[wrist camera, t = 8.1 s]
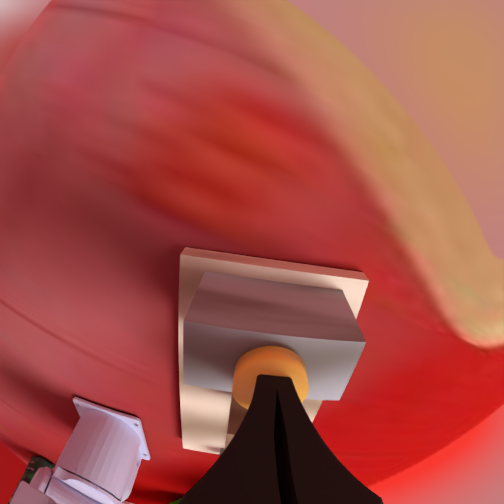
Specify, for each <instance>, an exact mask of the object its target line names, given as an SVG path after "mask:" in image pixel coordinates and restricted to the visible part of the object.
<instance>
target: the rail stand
mask: <svg viewBox="0 0 504 504" xmlns="http://www.w3.org/2000/svg"><path fill="white" fill-rule="evenodd" d="M368 282H369V280H368V279H367V277H366V276H365V274H364V273H363V272H358V271H351V270H344V269H336V268H329V267H322V266H315V265H308V264H301V263H294V262H287V261H279V260H272V259H265V258H258V257H251V256H244V255H237V254H230V253H223V252H216V251H209V250H203V249H196V248H189V247H185V248H184V250H183V251H182V253H181V254H180V271H179V314H178V344H179V387H180V409H181V426H182V440H183V448H186V449H191V450H196V451H202V452H208V453H214V454H220V456H221V454H222V453H223V452H224V450H225V443H226V436H227V426H228V419H229V411H230V404H231V397H232V385H233V377H234V370H235V365H236V363H237V361H238V360H239V359H240V357H241V356H243V355H244V354H245V353H247V352H248V351H250V350H253V349H256V348H259V347H265V346H277V347H283V348H287V349H289V350H291V351H293V352H295V353H296V354H298V355H299V356H300V357H301V358H302V359H303V361H304V363H305V366H306V372H307V379H308V386H309V391H308V395H307V397H306V399H305V400H304V401H303V402H302V405H303V407H304V409H305V411H306V413H307V414H308V416H309V418H310V420H311V422H313V420H314V417H315V415H316V413H317V411H318V409H319V407H320V405H321V403H322V401H323V400H339V399H340V397H341V395H342V393H343V391H344V389H345V387H346V385H347V383H348V381H349V379H350V377H351V375H352V373H353V371H354V368H355V366H356V364H357V362H358V360H359V357H360V355H361V353H362V350H363V348H364V346H365V343H366V341H365V339H364V336H363V334H362V332H361V330H360V327H359V325H358V323H357V321H356V318H357V315H358V312H359V309H360V306H361V303H362V300H363V297H364V294H365V291H366V288H367V285H368ZM220 456H219V457H220Z"/></svg>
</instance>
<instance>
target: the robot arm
mask: <svg viewBox="0 0 504 504" xmlns="http://www.w3.org/2000/svg"><path fill="white" fill-rule="evenodd" d="M73 402H74V404H75V407H76V409H77V411H78V413H79V416H80V419H79V421H78V423H77V425H76V427H75V429H74V430H73V432H72V434H71V436H70V438H69V440H68V442H67V444H66V446H65V447H64V449H63V451H62V453H61V455H60V457H59V459H58V461H57V463H56V465H55V467H54V468H53V469H50V468H48V467H47V466H46V467H41V468H39V469H38V470H37V472H36V473H35V475H34V477H33V478H32V480H31V482H30V484H28V483H26V482H25V481H21V482H20V484H19V486H18V488H17V490H16V492H15V494H14V496H13V498H12V500H11V502H10V504H125V503H122V502H123V501H124V500H126V499H127V498H128V497H129V495H130V493H131V490H132V487H133V484H134V481H135V478H136V475H137V472H138V469H139V466H140V463H141V460H142V459H145V460H150V454H149V451H148V447H147V443H146V440H145V436H144V432H143V428H142V424H141V421H140V419H139V418H137V417H134V416H131V415H127V414H124V413H121V412H118V411H114V410H111V409H108V408H105V407H102V406H99V405H97V404H94V403H91V402H88V401H86V400H83V399H80V398H78V397H74V398H73ZM178 504H383V501H382V499H381V498H380V497H379V496H378V495H376V494H375V493H373V492H372V491H371V490H369V489H368V488H367V487H366V486H364V485H363V484H362V483H361V482H360V481H359V480H358V479H356V478H355V477H354V476H353V475H352V474H351V473H350V472H349V471H348V470H347V469H346V468H345V467H344V466H343V464H342V463H341V462H340V461H339V460H338V459H337V458H336V457H335V455H334V454H333V453H332V452H331V450H330V449H329V448H328V446H327V445H326V444H325V442H324V441H323V439H322V438H321V436H320V435H319V433H318V432H317V430H316V429H315V427H314V425H313V424H312V422H311V420H310V418H309V416H308V414H307V413H306V411H305V409H304V407H303V405H302V403H301V400H300V398H299V396H298V394H297V391H296V389H295V386H294V384H293V381H292V379H291V378H290V377H284V376H274V375H264V374H260V375H258V376H257V379H256V384H255V388H254V393H253V397H252V401H251V403H250V406H249V408H248V411H247V413H246V415H245V417H244V419H243V421H242V423H241V425H240V427H239V428H238V430H237V432H236V434H235V435H234V437H233V438H232V440H231V442H230V443H229V445H228V446H227V447H226V449H225V450H224V452H223V453H222V454H221V456H220V457H219V458H218V460H217V461H216V462H215V463H214V465H213V466H212V467H211V468H210V469H209V470H208V471H207V473H206V474H205V475H204V476H203V477H202V478H201V479H200V480H199V481H198V482H197V483H196V484H195V485H194V486H193V487H192V488H191V489H190V490H189V491H188V492H187V493H186V494H185V495H184V496H183V498H182V499H181V501H180V502H179V503H178Z"/></svg>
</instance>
